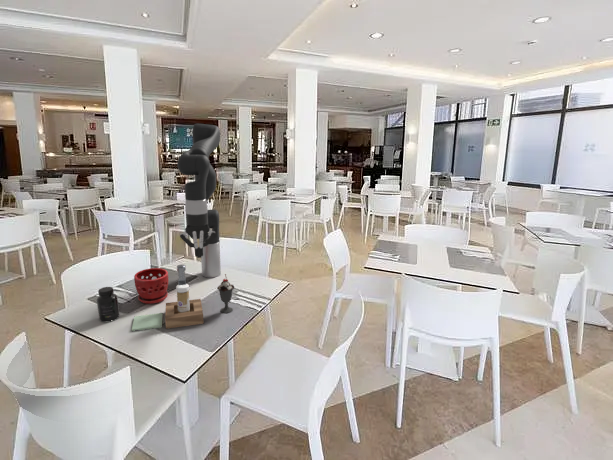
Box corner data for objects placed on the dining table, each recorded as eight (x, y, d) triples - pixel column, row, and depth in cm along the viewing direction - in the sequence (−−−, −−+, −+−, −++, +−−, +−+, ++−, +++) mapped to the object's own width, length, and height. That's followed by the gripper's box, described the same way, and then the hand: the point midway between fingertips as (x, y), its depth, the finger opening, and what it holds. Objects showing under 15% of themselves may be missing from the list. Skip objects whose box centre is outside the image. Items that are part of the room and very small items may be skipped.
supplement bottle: (100, 315, 138) (96, 286, 135) (120, 312, 141) (116, 284, 138) (98, 323, 132) (94, 294, 129) (118, 320, 135) (115, 291, 132)
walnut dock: (166, 305, 147) (164, 270, 143) (200, 301, 152) (198, 267, 148) (165, 328, 130) (162, 289, 126) (203, 323, 134) (201, 285, 130)
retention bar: (177, 269, 144) (176, 264, 144) (185, 268, 145) (185, 264, 145) (177, 285, 129) (177, 280, 129) (186, 284, 130) (186, 279, 130)
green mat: (134, 318, 137) (134, 316, 137) (162, 314, 140) (162, 312, 140) (131, 331, 128) (131, 329, 127) (161, 327, 131) (161, 325, 131)
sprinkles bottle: (176, 320, 136) (174, 287, 133) (180, 314, 140) (178, 282, 137) (188, 320, 136) (186, 288, 132) (192, 315, 140) (190, 283, 137)
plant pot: (129, 302, 150) (126, 275, 147) (155, 290, 161) (153, 265, 158) (151, 309, 144) (148, 281, 141) (176, 297, 155) (174, 271, 152)
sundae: (228, 304, 149) (227, 271, 145) (238, 310, 145) (237, 276, 141) (214, 309, 145) (213, 275, 141) (223, 315, 140) (222, 280, 136)
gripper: (214, 208, 133) (216, 252, 138) (176, 210, 129) (180, 255, 133) (216, 212, 127) (218, 259, 131) (177, 214, 122) (180, 262, 127)
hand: (199, 257), depth 132 cm, fingers closed
